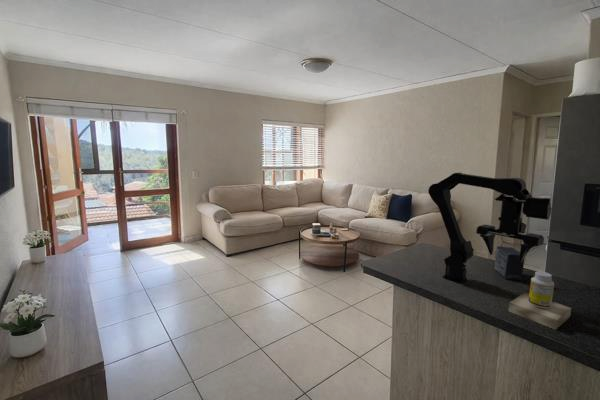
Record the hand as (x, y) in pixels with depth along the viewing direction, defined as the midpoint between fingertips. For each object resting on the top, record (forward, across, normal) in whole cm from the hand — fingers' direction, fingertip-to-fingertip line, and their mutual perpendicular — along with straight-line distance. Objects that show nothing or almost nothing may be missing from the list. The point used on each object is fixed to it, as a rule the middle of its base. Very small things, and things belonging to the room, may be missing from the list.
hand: (505, 258), depth 105 cm
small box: (+13, +6, -20) cm, 25 cm away
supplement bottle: (+10, -13, +6) cm, 17 cm away
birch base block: (+13, -13, +6) cm, 19 cm away
